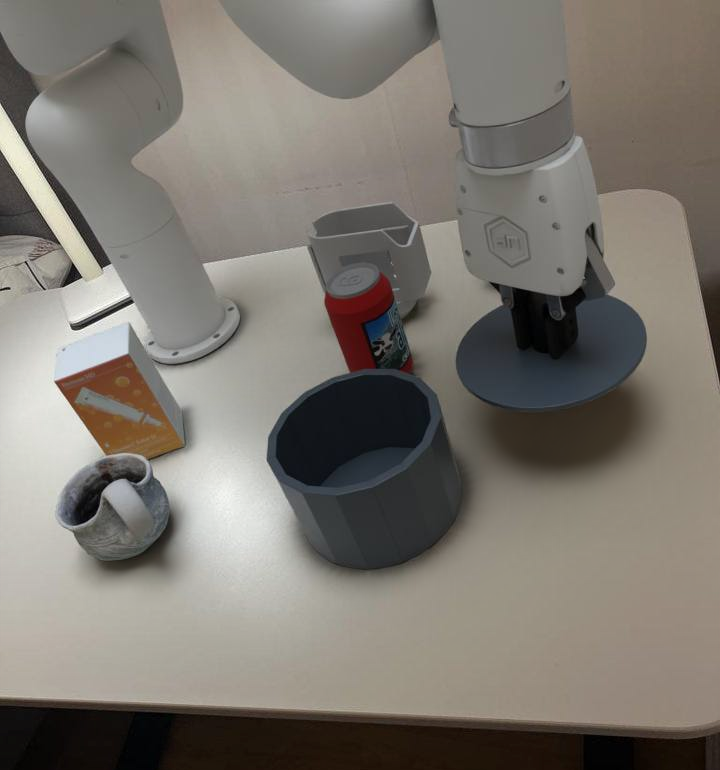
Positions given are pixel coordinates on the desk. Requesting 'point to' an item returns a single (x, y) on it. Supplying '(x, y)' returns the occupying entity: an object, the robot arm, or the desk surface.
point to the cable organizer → (373, 248)
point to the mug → (114, 506)
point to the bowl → (367, 467)
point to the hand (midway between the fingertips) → (547, 342)
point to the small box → (119, 394)
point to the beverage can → (367, 319)
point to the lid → (536, 367)
